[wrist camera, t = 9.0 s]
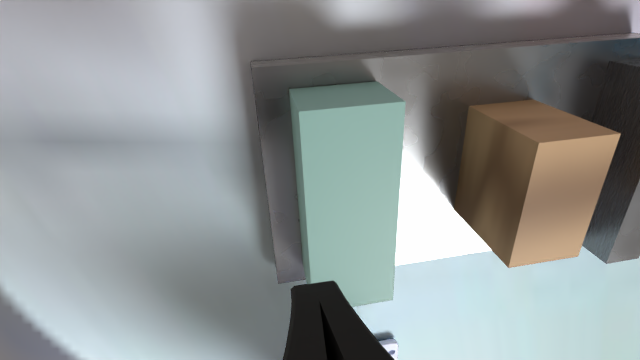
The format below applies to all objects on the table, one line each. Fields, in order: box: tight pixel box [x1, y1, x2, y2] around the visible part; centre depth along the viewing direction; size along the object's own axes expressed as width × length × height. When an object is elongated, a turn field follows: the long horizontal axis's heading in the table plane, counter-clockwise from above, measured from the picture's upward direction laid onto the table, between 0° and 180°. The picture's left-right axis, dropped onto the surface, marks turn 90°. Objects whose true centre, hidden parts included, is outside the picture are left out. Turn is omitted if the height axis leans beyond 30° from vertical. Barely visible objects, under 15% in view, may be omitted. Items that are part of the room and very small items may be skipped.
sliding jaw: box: [289, 81, 406, 307], centre depth 17 cm, size 10×4×3 cm, turn 2°
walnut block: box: [454, 100, 621, 268], centre depth 18 cm, size 6×4×5 cm, turn 2°
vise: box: [251, 33, 640, 284], centre depth 19 cm, size 12×20×5 cm, turn 92°
